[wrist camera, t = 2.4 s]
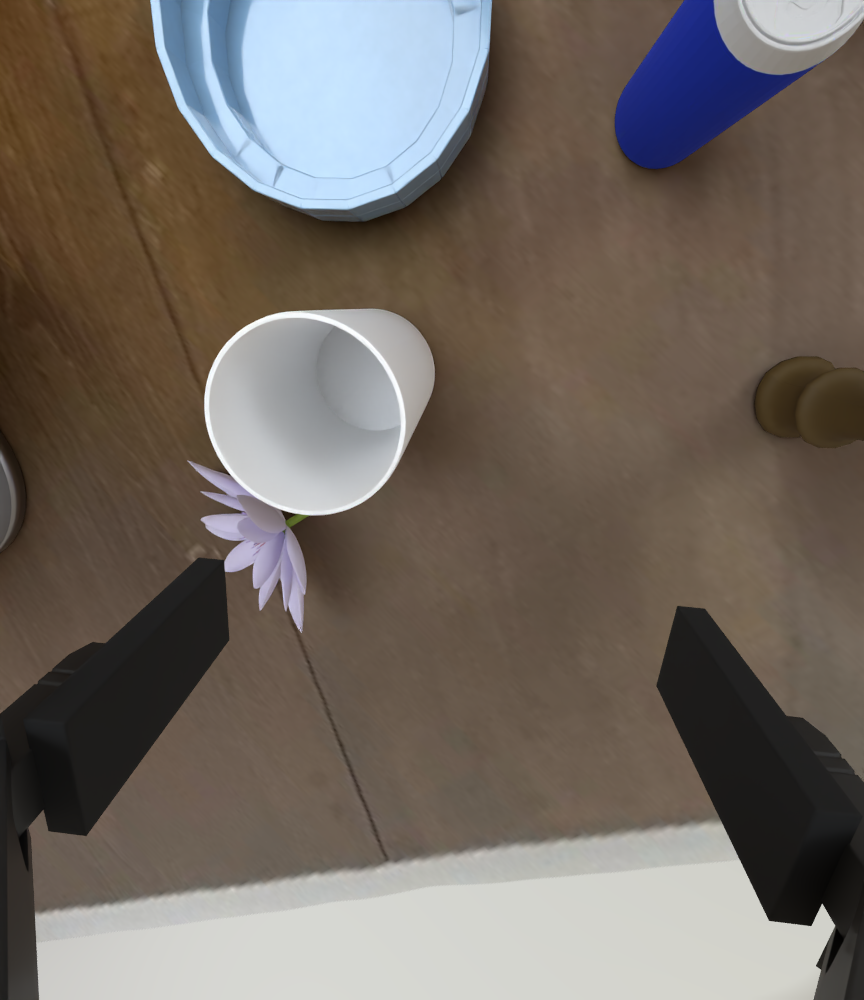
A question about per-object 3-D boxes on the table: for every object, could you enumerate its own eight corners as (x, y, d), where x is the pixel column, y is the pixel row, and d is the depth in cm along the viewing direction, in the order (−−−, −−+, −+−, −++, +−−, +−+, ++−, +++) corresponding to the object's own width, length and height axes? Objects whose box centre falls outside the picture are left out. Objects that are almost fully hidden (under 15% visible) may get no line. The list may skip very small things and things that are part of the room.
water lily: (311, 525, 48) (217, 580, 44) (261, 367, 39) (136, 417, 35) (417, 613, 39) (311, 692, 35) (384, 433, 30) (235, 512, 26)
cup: (289, 363, 37) (161, 404, 22) (379, 280, 35) (306, 261, 20) (369, 456, 39) (301, 552, 24) (459, 382, 36) (449, 436, 21)
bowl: (176, 165, 33) (126, 141, 29) (232, -191, 28) (183, -293, 23) (430, 262, 34) (423, 256, 29) (536, -64, 28) (548, -137, 24)
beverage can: (707, 161, 31) (898, 41, 17) (614, 179, 32) (725, 79, 18) (706, 53, 29) (917, -178, 15) (609, 75, 30) (726, -127, 16)
